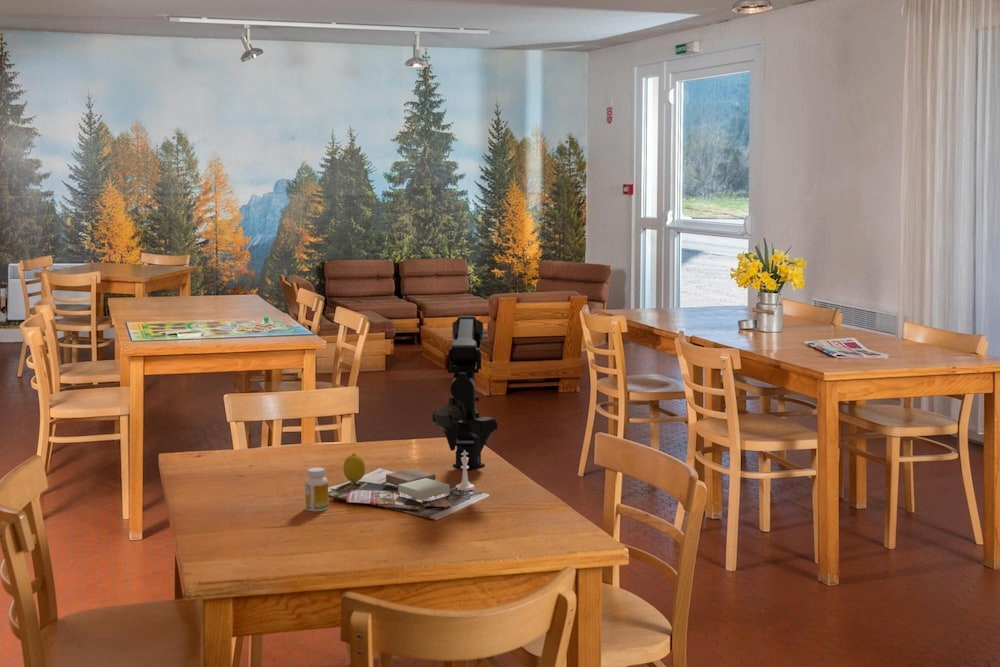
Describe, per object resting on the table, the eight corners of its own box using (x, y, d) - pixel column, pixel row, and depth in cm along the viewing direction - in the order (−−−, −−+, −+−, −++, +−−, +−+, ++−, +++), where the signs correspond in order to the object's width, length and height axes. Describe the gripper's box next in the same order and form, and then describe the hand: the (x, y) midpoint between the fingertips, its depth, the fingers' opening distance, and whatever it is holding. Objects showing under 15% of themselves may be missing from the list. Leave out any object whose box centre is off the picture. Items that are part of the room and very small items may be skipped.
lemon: (354, 479, 291) (354, 449, 290) (369, 483, 288) (369, 453, 287) (339, 484, 287) (338, 453, 286) (354, 487, 283) (353, 457, 282)
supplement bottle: (332, 506, 267) (331, 467, 266) (322, 512, 262) (321, 472, 260) (311, 504, 268) (310, 465, 267) (302, 511, 263) (300, 471, 262)
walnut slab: (413, 479, 291) (412, 468, 291) (435, 485, 285) (435, 474, 284) (386, 485, 285) (385, 474, 285) (408, 492, 279) (408, 480, 278)
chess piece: (452, 487, 283) (452, 449, 282) (471, 485, 285) (470, 447, 284) (459, 492, 279) (458, 453, 278) (477, 490, 281) (477, 451, 279)
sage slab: (426, 489, 281) (425, 477, 281) (449, 496, 275) (449, 484, 275) (398, 496, 275) (398, 484, 275) (421, 503, 269) (421, 491, 268)
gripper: (415, 392, 280) (416, 452, 282) (465, 402, 267) (466, 465, 269) (448, 386, 287) (449, 445, 290) (498, 396, 274) (499, 457, 276)
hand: (464, 453), depth 281 cm, fingers open, 9 cm apart
